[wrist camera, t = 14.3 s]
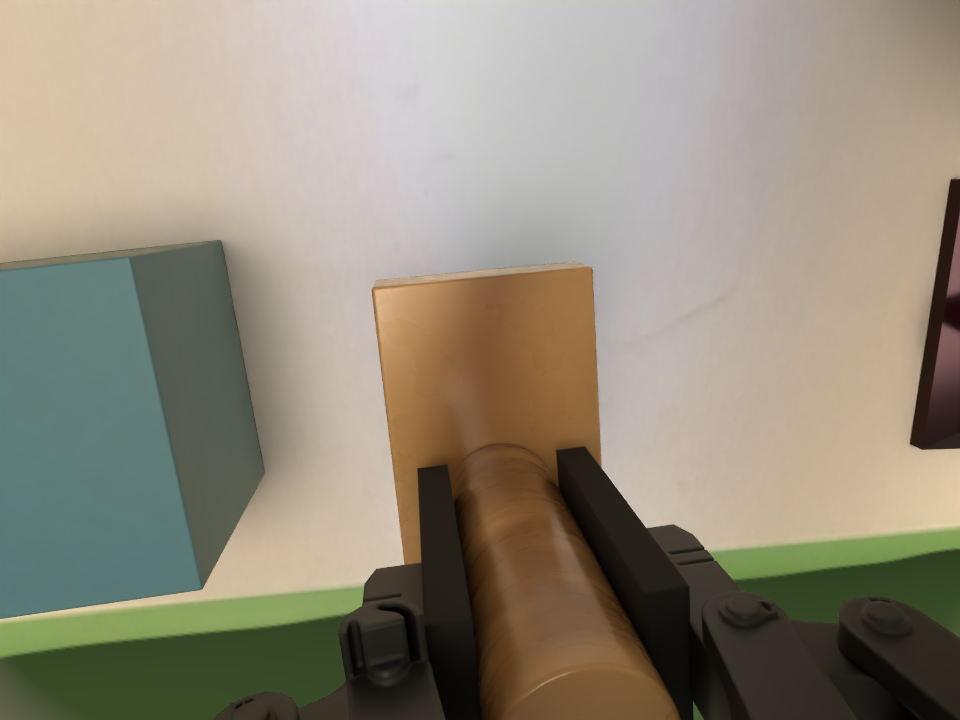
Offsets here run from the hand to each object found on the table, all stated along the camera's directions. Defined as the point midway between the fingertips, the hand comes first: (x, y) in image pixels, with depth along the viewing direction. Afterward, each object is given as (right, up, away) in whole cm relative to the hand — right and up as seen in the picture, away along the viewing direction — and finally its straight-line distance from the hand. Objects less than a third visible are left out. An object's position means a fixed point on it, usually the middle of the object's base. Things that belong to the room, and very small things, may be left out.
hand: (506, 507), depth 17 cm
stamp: (0, +1, +4) cm, 4 cm away
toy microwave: (-21, +3, +16) cm, 27 cm away
